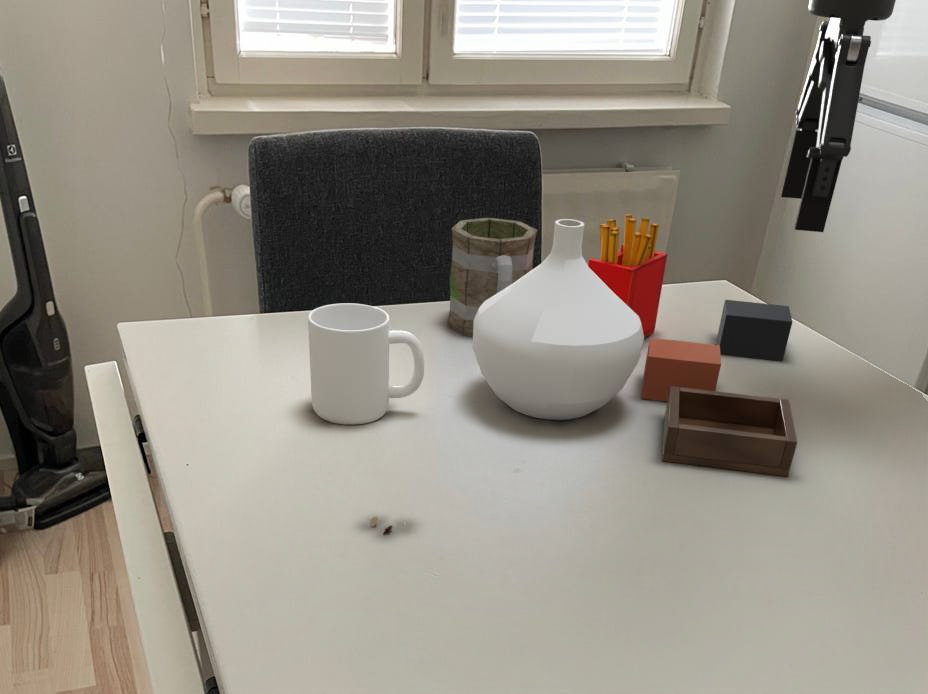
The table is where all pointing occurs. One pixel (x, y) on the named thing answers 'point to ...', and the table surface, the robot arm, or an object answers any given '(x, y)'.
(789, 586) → the table surface
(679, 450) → the frame
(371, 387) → the cup
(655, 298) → the french fries container
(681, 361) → the reddish brown rectangular block
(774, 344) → the dark gray rectangular block
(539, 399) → the vase
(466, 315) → the mug
